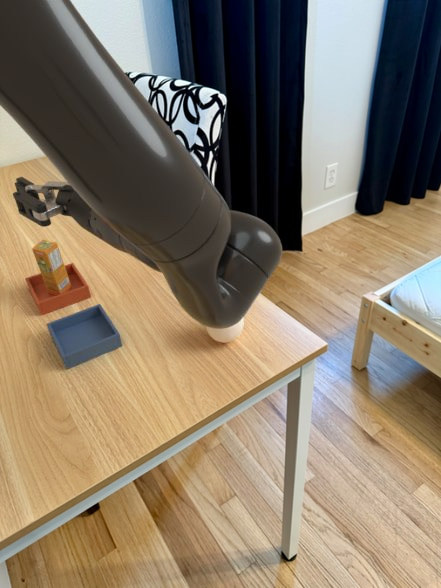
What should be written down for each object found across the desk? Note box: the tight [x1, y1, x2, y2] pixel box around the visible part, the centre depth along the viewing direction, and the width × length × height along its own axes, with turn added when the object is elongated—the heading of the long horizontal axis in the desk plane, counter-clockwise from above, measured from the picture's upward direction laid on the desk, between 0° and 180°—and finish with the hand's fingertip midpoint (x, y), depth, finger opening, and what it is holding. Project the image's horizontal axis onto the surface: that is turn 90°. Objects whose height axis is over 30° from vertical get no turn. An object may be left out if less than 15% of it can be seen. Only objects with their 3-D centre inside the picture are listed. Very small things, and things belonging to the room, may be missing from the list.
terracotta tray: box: [24, 262, 92, 316], centre depth 79 cm, size 9×9×3 cm
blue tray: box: [46, 303, 123, 370], centre depth 68 cm, size 9×9×3 cm
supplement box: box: [31, 239, 72, 295], centre depth 76 cm, size 3×3×10 cm
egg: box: [205, 316, 245, 344], centre depth 67 cm, size 6×6×8 cm
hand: (51, 174), depth 57 cm, fingers open, 8 cm apart
